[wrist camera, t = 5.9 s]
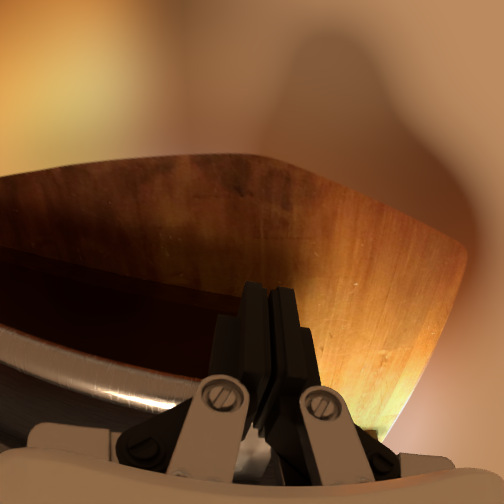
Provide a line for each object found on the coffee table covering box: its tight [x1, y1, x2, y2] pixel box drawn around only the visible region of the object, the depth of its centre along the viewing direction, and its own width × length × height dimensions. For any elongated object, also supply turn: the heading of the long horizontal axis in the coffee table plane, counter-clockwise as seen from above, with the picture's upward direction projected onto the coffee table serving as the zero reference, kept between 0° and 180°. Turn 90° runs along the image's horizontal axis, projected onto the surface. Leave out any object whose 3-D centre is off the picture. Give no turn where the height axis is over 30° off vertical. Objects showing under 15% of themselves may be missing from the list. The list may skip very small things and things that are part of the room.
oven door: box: [0, 246, 277, 486], centre depth 22 cm, size 8×40×26 cm, turn 78°
